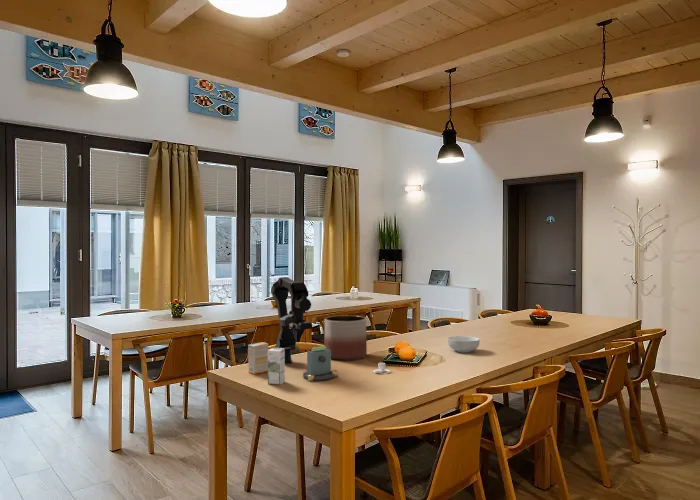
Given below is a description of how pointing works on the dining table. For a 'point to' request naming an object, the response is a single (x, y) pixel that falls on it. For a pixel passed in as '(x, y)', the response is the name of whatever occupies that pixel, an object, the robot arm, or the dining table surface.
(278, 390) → the dining table surface
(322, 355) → the grey upright slab
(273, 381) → the syrup box
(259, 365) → the supplement box
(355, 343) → the planter
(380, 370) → the white lobed piece
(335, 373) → the base
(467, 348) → the cereal bowl
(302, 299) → the robot arm
